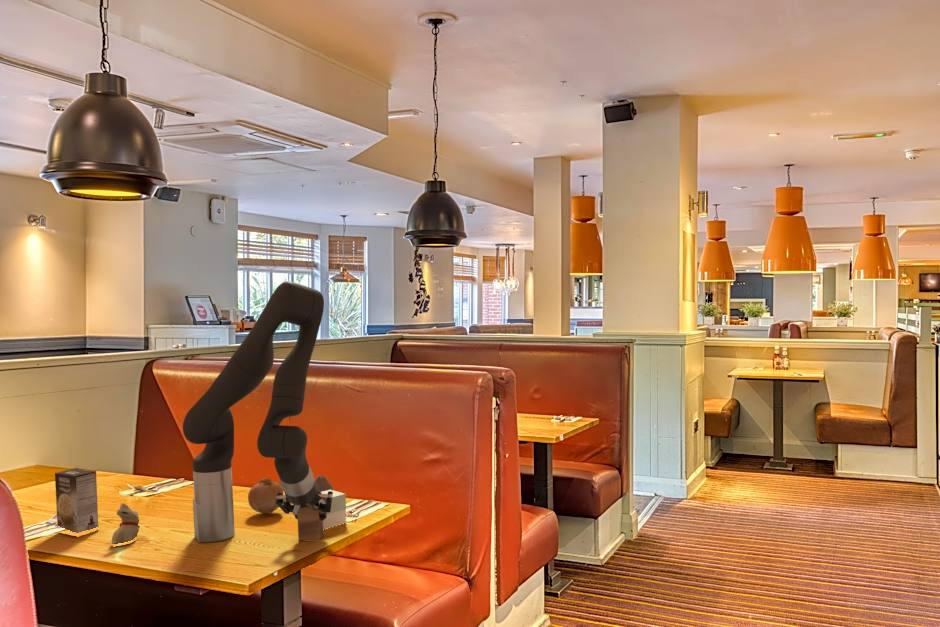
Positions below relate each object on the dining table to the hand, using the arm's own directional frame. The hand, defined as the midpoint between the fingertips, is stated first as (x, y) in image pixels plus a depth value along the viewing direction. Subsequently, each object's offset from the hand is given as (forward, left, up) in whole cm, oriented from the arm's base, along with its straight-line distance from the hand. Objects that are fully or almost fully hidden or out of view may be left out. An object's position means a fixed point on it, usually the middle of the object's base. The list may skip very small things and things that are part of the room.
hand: (311, 517), depth 196 cm
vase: (+10, +23, -5) cm, 26 cm away
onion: (-5, +26, -5) cm, 27 cm away
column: (-1, -2, -4) cm, 5 cm away
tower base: (+6, +7, -5) cm, 11 cm away
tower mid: (+6, +7, -1) cm, 9 cm away
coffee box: (-51, +39, -5) cm, 65 cm away
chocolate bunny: (-41, +22, -5) cm, 47 cm away
